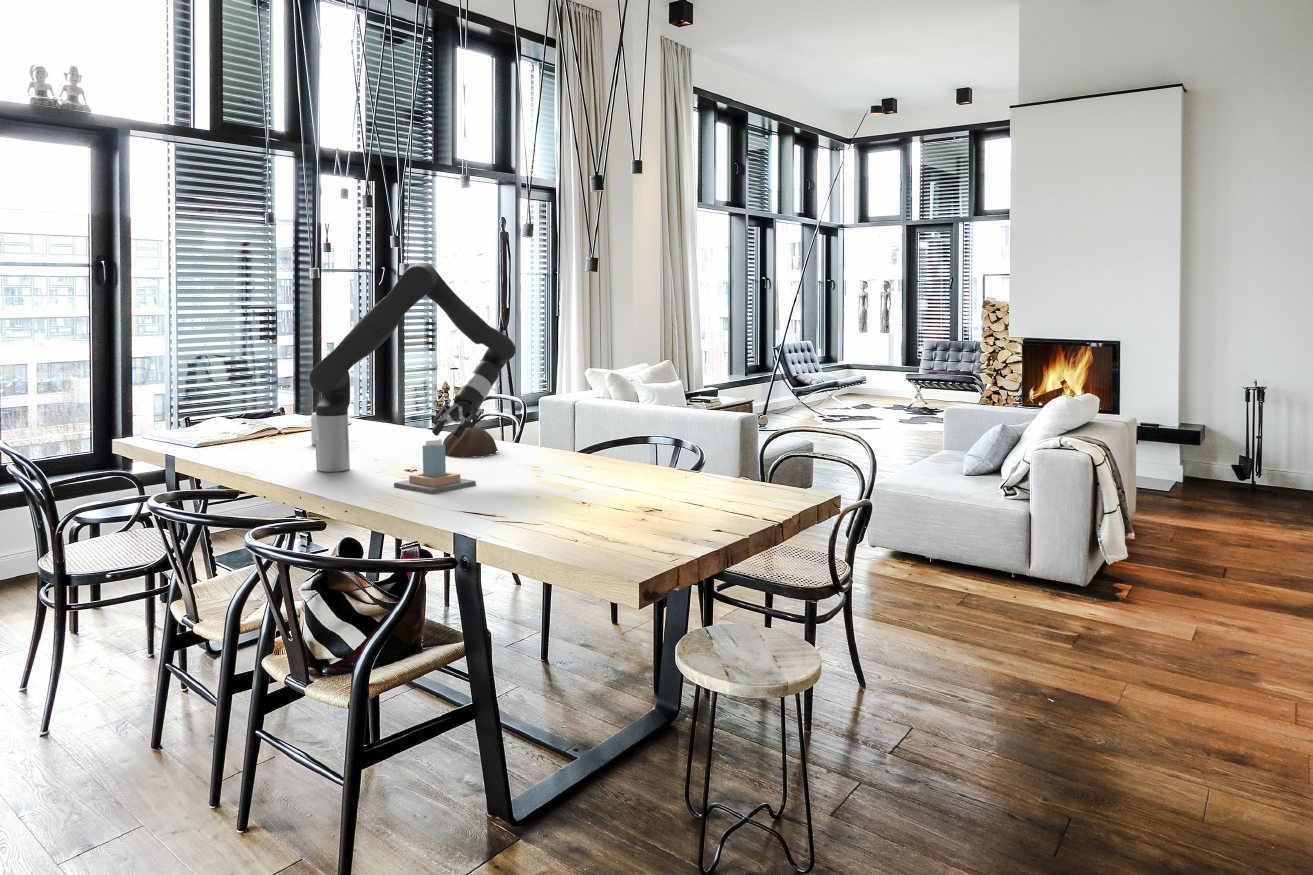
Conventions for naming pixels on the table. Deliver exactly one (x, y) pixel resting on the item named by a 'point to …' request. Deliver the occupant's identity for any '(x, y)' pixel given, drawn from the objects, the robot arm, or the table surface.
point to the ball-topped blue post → (434, 458)
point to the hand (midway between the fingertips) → (444, 435)
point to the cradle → (434, 483)
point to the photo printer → (313, 428)
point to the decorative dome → (470, 443)
